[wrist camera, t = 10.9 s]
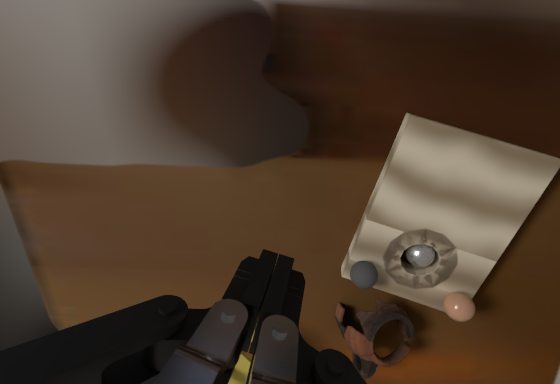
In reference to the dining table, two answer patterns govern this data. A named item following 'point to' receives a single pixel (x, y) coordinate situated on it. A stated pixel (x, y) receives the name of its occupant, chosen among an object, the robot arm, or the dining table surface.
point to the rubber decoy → (364, 274)
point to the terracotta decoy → (459, 306)
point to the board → (446, 208)
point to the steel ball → (420, 255)
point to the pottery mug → (363, 343)
